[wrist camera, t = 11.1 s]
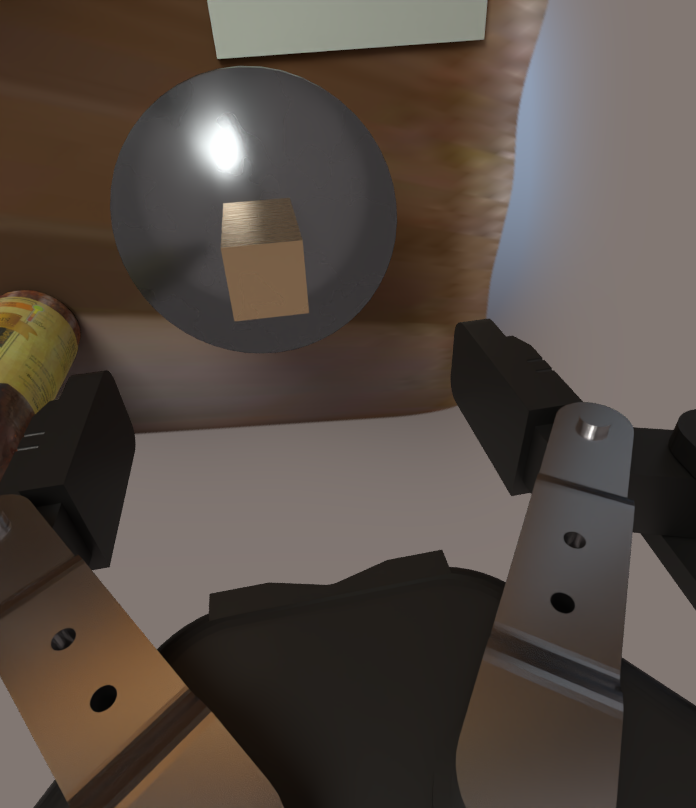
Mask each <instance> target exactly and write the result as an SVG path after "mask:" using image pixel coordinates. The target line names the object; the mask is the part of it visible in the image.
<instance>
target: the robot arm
mask: <svg viewBox="0 0 696 808" xmlns="http://www.w3.org/2000/svg"><path fill="white" fill-rule="evenodd" d="M451 388H452V393H453V396H454V399H455V401H456V403H457V405H458V407H459V408H460V410H461V412H462V413H463V415H464V417H465V418H466V420H467V422H468V423H469V425H470V427H471V429H472V430H473V432H474V434H475V435H476V437H477V439H478V440H479V442H480V444H481V446H482V447H483V449H484V451H485V452H486V454H487V455H488V457H489V459H490V461H491V462H492V464H493V465H494V468H495V469H496V471H497V473H498V474H499V476H500V478H501V479H502V481H503V483H504V485H505V486H506V488H507V490H508V491H509V493H510V495H511V496H514V495H519V494H525V493H531V494H532V495H531V499H530V502H529V506H528V509H527V512H526V515H525V519H524V522H523V526H522V529H521V532H520V536H519V539H518V543H517V546H516V550H515V553H514V557H513V560H512V563H511V566H510V570H509V574H508V577H507V580H506V582H504V581H502V580H500V579H498V578H495V577H493V576H490V575H487V574H484V573H481V572H478V571H474V570H469V569H464V568H457V567H449V566H448V563H447V561H446V558H445V556H444V553H443V551H442V550H438V551H433V552H428V553H422V554H417V555H412V556H406V557H401V558H396V559H391V560H387V561H384V562H382V563H380V564H378V565H375V566H373V567H371V568H369V569H367V570H364V571H362V572H360V573H357V574H355V575H353V576H351V577H349V578H347V579H344V580H342V581H340V582H337V583H335V584H331V585H314V584H290V583H265V584H259V585H254V586H249V587H243V588H238V589H233V590H228V591H222V592H217V593H212V594H210V599H209V600H210V601H209V614H207V615H204V616H202V617H200V618H198V619H196V620H195V621H193V622H192V623H190V624H188V625H186V626H185V627H183V628H182V629H181V630H179V631H178V632H176V633H175V634H174V635H172V636H171V637H170V638H169V639H168V640H167V641H165V642H164V643H163V644H162V645H161V646H160V647H159V648H158V649H156V648H155V647H154V646H153V644H152V643H151V642H150V641H149V640H148V638H147V637H146V636H145V635H144V633H143V632H142V631H141V630H140V629H139V627H138V626H137V625H136V624H135V623H134V621H133V620H132V619H131V618H130V616H129V615H128V614H127V613H126V612H125V610H124V609H123V608H122V607H121V605H120V604H119V603H118V602H117V601H116V599H115V598H114V597H113V596H112V594H111V593H110V592H109V591H108V590H107V589H106V587H105V586H104V585H103V584H102V583H101V581H100V580H99V579H98V577H97V576H96V575H95V574H94V573H93V571H92V570H95V569H101V568H107V567H110V562H111V558H112V553H113V549H114V544H115V539H116V535H117V530H118V526H119V521H120V517H121V512H122V508H123V503H124V498H125V494H126V489H127V485H128V480H129V476H130V471H131V466H132V462H133V457H134V453H135V435H134V430H133V426H132V423H131V420H130V418H129V415H128V413H127V410H126V408H125V405H124V403H123V400H122V398H121V395H120V393H119V390H118V388H117V385H116V383H115V380H114V378H113V376H112V375H111V373H110V372H109V371H100V372H92V373H85V374H78V375H72V376H70V377H69V379H68V381H67V383H66V386H65V388H64V390H63V392H62V395H61V397H60V399H59V400H53V401H49V402H48V403H47V404H46V405H45V406H44V407H43V408H42V409H40V410H39V411H38V412H37V413H36V414H35V415H34V416H33V417H32V419H31V421H30V423H29V425H28V427H27V429H26V431H25V433H24V437H22V439H21V441H20V443H19V445H18V447H17V450H18V451H15V453H14V455H13V457H12V459H11V461H10V463H9V465H8V467H7V469H6V471H5V473H4V475H3V477H2V479H1V481H0V677H1V679H2V681H3V683H4V684H5V686H6V688H7V690H8V692H9V693H10V695H11V697H12V699H13V701H14V703H15V705H16V707H17V709H18V710H19V712H20V714H21V716H22V718H23V720H24V721H25V724H26V726H27V727H28V729H29V731H30V733H31V735H32V737H33V739H34V741H35V742H36V744H37V746H38V748H39V750H40V752H41V754H42V755H43V757H44V759H45V761H46V763H47V765H48V767H49V768H50V770H51V772H52V774H53V776H54V778H55V780H54V782H53V783H52V784H51V785H50V787H49V788H48V789H47V791H46V792H45V794H44V795H43V796H42V797H41V799H40V800H39V801H38V802H37V804H36V805H35V806H34V808H696V706H695V705H694V704H692V703H691V702H689V701H688V700H686V699H685V698H683V697H681V696H680V695H679V694H677V693H675V692H674V691H672V690H671V689H669V688H667V687H666V686H664V685H663V684H662V683H660V682H659V681H657V680H655V679H654V678H653V677H651V676H649V675H648V674H646V673H645V672H643V671H642V670H640V669H639V668H637V667H636V666H634V665H633V664H631V663H630V662H628V661H627V660H625V659H624V658H622V647H623V635H624V624H625V612H626V600H627V589H628V578H629V566H630V555H631V543H632V532H634V533H641V535H642V536H643V537H644V539H645V540H646V542H647V543H648V544H649V546H650V547H651V549H652V550H653V551H654V553H655V554H656V555H657V557H658V558H659V560H660V561H661V563H662V564H663V565H664V567H665V568H666V569H667V571H668V572H669V574H670V575H671V576H672V578H673V579H674V581H675V582H676V583H677V585H678V586H679V588H680V589H681V590H682V592H683V593H684V595H685V596H686V597H687V599H688V600H689V601H690V603H691V604H692V605H693V607H694V608H695V610H696V409H695V410H690V411H687V412H685V413H683V414H682V415H681V416H680V417H679V420H678V422H677V424H676V426H675V429H674V430H663V429H648V428H634V427H633V426H632V424H631V423H630V421H629V420H628V419H627V418H626V417H625V416H624V415H622V414H621V413H619V412H618V411H616V410H614V409H612V408H610V407H607V406H604V405H601V404H596V403H589V402H583V401H582V400H581V399H580V398H579V397H578V396H577V395H576V394H575V393H574V392H573V390H572V389H571V388H570V387H569V386H568V385H567V384H566V383H565V382H564V381H563V380H562V379H561V377H560V376H559V375H558V374H557V373H556V372H555V371H552V368H551V367H550V366H549V364H548V363H547V362H546V361H545V360H542V357H541V356H540V355H539V354H538V353H537V351H536V350H535V349H534V348H533V347H532V346H531V345H529V344H527V343H525V342H523V341H522V340H520V339H518V338H516V337H514V336H508V337H506V336H505V335H504V334H503V333H502V331H501V330H500V329H499V328H498V327H497V326H496V325H495V323H494V322H493V321H492V320H490V319H482V320H475V321H468V322H460V323H458V324H457V325H456V328H455V334H454V345H453V357H452V368H451Z"/></svg>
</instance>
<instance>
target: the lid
mask: <svg viewBox="0 0 696 808" xmlns="http://www.w3.org/2000/svg"><path fill="white" fill-rule="evenodd" d="M110 210H111V220H112V229H113V233H114V237H115V241H116V245H117V248H118V251H119V253H120V256H121V259H122V261H123V264H124V266H125V268H126V270H127V271H128V273H129V275H130V277H131V279H132V281H133V282H134V284H135V285H136V287H137V288H138V289H139V291H140V292H141V294H142V295H143V296H144V297H145V299H146V300H147V301H148V302H149V303H150V304H151V305H152V306H153V307H154V309H155V310H156V311H158V312H159V313H160V314H161V315H162V316H163V317H164V318H166V319H167V320H168V321H169V322H170V323H172V324H173V325H175V326H176V327H178V328H179V329H181V330H182V331H184V332H185V333H187V334H189V335H191V336H193V337H195V338H197V339H199V340H201V341H204V342H206V343H209V344H211V345H214V346H217V347H221V348H224V349H228V350H233V351H239V352H245V353H276V352H283V351H288V350H294V349H297V348H300V347H304V346H307V345H310V344H312V343H314V342H317V341H319V340H321V339H323V338H325V337H327V336H329V335H330V334H332V333H334V332H336V331H337V330H339V329H340V328H341V327H343V326H344V325H345V324H347V323H348V322H349V321H350V320H351V319H352V318H353V317H355V316H356V315H357V314H358V313H359V312H360V311H361V310H362V308H363V307H364V306H365V305H366V304H367V302H368V301H369V300H370V299H371V297H372V296H373V294H374V293H375V291H376V290H377V288H378V287H379V285H380V283H381V281H382V279H383V277H384V275H385V273H386V270H387V267H388V265H389V262H390V259H391V256H392V252H393V247H394V242H395V237H396V225H397V212H396V199H395V193H394V187H393V183H392V179H391V176H390V173H389V169H388V166H387V164H386V162H385V160H384V157H383V155H382V153H381V151H380V148H379V147H378V145H377V144H376V142H375V140H374V139H373V137H372V136H371V134H370V132H369V131H368V130H367V128H366V127H365V126H364V125H363V124H362V122H361V121H360V120H359V119H358V117H357V116H356V115H355V114H354V113H353V112H352V111H351V110H349V109H348V108H347V107H346V106H345V105H344V104H343V103H342V102H341V101H340V100H338V99H337V98H336V97H334V96H333V95H332V94H330V93H329V92H327V91H326V90H324V89H323V88H321V87H320V86H318V85H316V84H314V83H312V82H310V81H308V80H306V79H304V78H302V77H300V76H297V75H294V74H291V73H288V72H285V71H282V70H277V69H271V68H265V67H259V66H235V67H227V68H220V69H215V70H212V71H208V72H205V73H202V74H198V75H196V76H194V77H192V78H190V79H187V80H185V81H183V82H181V83H179V84H177V85H176V86H175V87H173V88H172V89H170V90H169V91H167V92H166V93H165V94H163V95H162V96H160V97H159V98H158V99H157V100H156V101H155V102H154V103H153V104H152V105H151V106H150V107H149V108H148V109H147V110H146V111H145V112H144V113H143V115H142V116H141V117H140V119H139V120H138V121H137V123H136V124H135V125H134V127H133V128H132V129H131V131H130V133H129V135H128V137H127V139H126V141H125V142H124V144H123V146H122V148H121V151H120V154H119V157H118V160H117V163H116V166H115V169H114V174H113V180H112V185H111V202H110Z"/></svg>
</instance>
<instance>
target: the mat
mask: <svg viewBox="0 0 696 808" xmlns="http://www.w3.org/2000/svg"><path fill="white" fill-rule="evenodd" d="M207 2H208V8H209V14H210V19H211V25H212V31H213V37H214V43H215V49H216V54H217V59H224V58H238V57H252V56H265V55H279V54H293V53H306V52H320V51H334V50H347V49H361V48H375V47H388V46H402V45H416V44H429V43H443V42H457V41H470V40H484V35H485V23H486V12H487V0H207Z"/></svg>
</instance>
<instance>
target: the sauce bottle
mask: <svg viewBox="0 0 696 808" xmlns="http://www.w3.org/2000/svg"><path fill="white" fill-rule="evenodd" d="M80 333H81V332H80V327H79V325H78V322H77V320H76V319H75V317H74V315H73V314H72V312H71V311H70V310H69V309H68V308H67V307H66V306H65V305H64V304H62V303H61V302H60V301H58V300H57V299H55V298H54V297H52V296H50V295H47V294H44V293H41V292H37V291H30V290H21V291H13V292H7V293H6V294H4V295H1V296H0V481H1V479H2V477H3V475H4V473H5V471H6V469H7V467H8V465H9V463H10V461H11V459H12V457H13V455H14V453H15V451H18V450H17V447H18V445H19V443H20V441H21V439H22V437H24V433H25V431H26V429H27V427H28V425H29V423H30V421H31V419H32V417H33V416H34V415H35V414H36V413H37V412H38V411H39V410H40V409H42V408H43V407H44V406H45V405H46V404H47V403H48V402H49V401H53V400H54V399H55V397H56V395H57V393H58V391H59V389H60V387H61V385H62V384H63V382H64V380H65V377H66V375H67V373H68V371H69V369H70V367H71V365H72V363H73V361H74V359H75V357H76V354H77V351H78V345H79V340H80V336H81V335H80Z"/></svg>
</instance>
